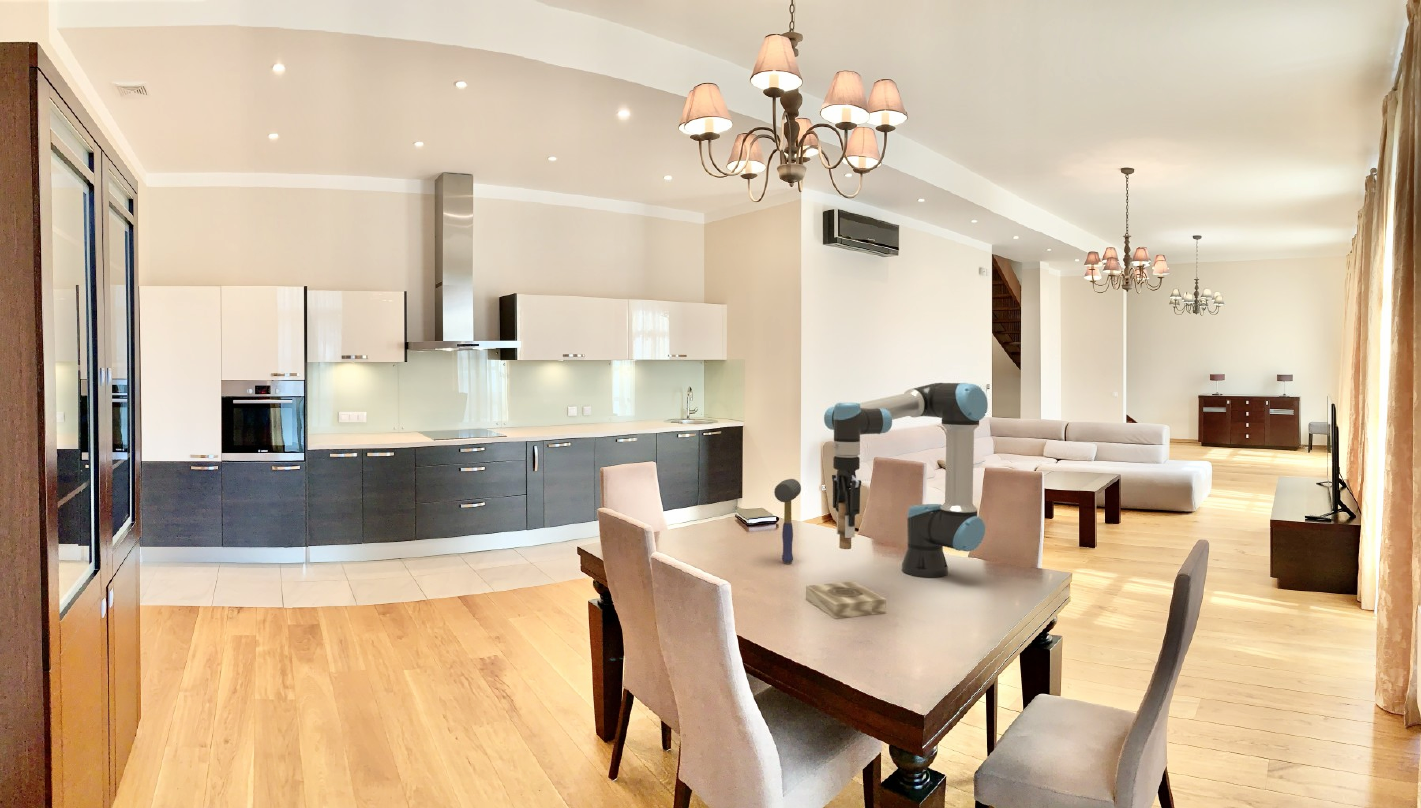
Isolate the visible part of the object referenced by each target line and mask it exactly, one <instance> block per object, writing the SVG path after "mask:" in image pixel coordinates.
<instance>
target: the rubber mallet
mask: <svg viewBox="0 0 1421 808" xmlns="http://www.w3.org/2000/svg"><path fill="white" fill-rule="evenodd" d="M801 491H802V486H801V483H800V482H799V481H798V480H797V479H795V478H788V479H784V480H782V481H780V482H779V483H778V484H777V485H776V486H775V488H774V492H773V495H774V496H775V498H776V499H777V501H778V502H781V503H784V508H783V509H784V511H783V512H784V514H783V515H784V516H783V517H784V519H783V525H782V533H781V537H782V538H781V539H782V556H781V560H782V562H783V563H784V564H785V565H790V564H792V563H793V561H794V554H793V540H794V529H793V524H792V523H793V522H792V501H793V500H795V499H796V498H797V497H798V496H799V495H800V494H801Z"/></svg>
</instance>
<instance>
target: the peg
mask: <svg viewBox="0 0 1421 808" xmlns="http://www.w3.org/2000/svg"><path fill="white" fill-rule="evenodd" d="M845 514H847V508H846V502H842V503H839V512H838V533H840V534H839V545H838V546H839V549H841V550H850V549H852V538H845Z"/></svg>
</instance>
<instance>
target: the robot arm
mask: <svg viewBox="0 0 1421 808" xmlns="http://www.w3.org/2000/svg"><path fill="white" fill-rule="evenodd" d="M988 405H989V404H988V398H987V395H986V392H985V391H984V390H983V389H982V388H981V386H979V385H977V384H975V383H968V382H933V383H931V384H930V383H929V384H926V385H921V386H918V387H914V388H911V389H907V390H906V391H905V392H904V393H901V394H896V395H891V396H886V397H883V398H877V399H873V400H868V401H864V402H859V403H858V402H837V403H836V404H835V405H834V406H830V407H829V408H827V409H826V411H825V412H824V416H823V421H824V425H825V426H826V427H827V429H829V430H832V431H833V445H832V447H833V455H834V456H833V458H832V459H833V466H832V467H833V469H834V470H837V472H836V474H832V475H831V479H832V509H835V512H836V535H840V533H838V512H839V503H842V502H846V508H847V514H845V538H851V539H852V538H855V537H856V536H855V534H856V528H855V526H856V515H860V511H861V486H862V480H861V479H857V475H856V471H858V470H859V469H860V467H861V465H860V463H861V462H860V459H861V458H860V456H859V455H861V435H881V434H886V433H888V432H889V431H890V430H891V428H892V426H893V420H897V419H898V420H899V419H901V418H906V417H910V418H920V417H928V418H929V417H930V418H940V419H941V426H942V427H943V428H944V429H945V431H946V432H945V433H946V434H945V478H944V479H945V481H944V482H945V484H944V486H945V487H944V489H945V490H944V503H943V504H941V503H928V504H927V503H926V504H915V505H911V506H909V508H908V510H907V517H906V520H907V521H906V522H907V548H906V552H905V554H904V558H903V560H902V563H901V571H902V572H903V573H905V574H906V575H910V576H914V577H920V578H940V577H945V576H947V575H948V573H949V567H948V563H947V559H946V556H945V554H944V550H943V549H944V548H943V547H945V548H949V549H953V550H955V551H962V552H972V551H975V550H976V549H977V548H978V547H979V546H980V544H981V543H982V541H983V540H984V538H985V537H984V536H985V535H986V525H985V522H984V520H983V519H982V518H981V517H979V516H978V508H977V507H976V506H975V505H974V503H973V501H974V500H973V497H974V496H973V495H974V460H975V459H974V457H975V454H974V450H975V448H974V447H975V445H974V444H975V442H974V441H975V430H976V429H977V428H978V427H979V426H980V421H981V420H982V419H983V418H985V416H986V413H987V412H988V409H989V407H988Z"/></svg>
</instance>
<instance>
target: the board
mask: <svg viewBox="0 0 1421 808" xmlns="http://www.w3.org/2000/svg"><path fill="white" fill-rule="evenodd" d="M805 600H806V601H808V602H809V603H811V604H812V605H814V606H815V607H817V608H819V609H820V610H822V611H823V612H824V613H826V614H827V615H829V616H831V617H832V618H833V619H843V618H853V617H861V616H863V617H864V616H870V615H871V616H872V615H879V614H886V613H887V598H885V597H883V596H881V595H880V594H878V593H876V592H874V591H872V590H871V589H868V588H866V587H864V586H863V585H861V584H859V583H858V582H855V581H844V582H841V581H840V582H833V583H824V584H822V583H820V584H813V585H805Z"/></svg>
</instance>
